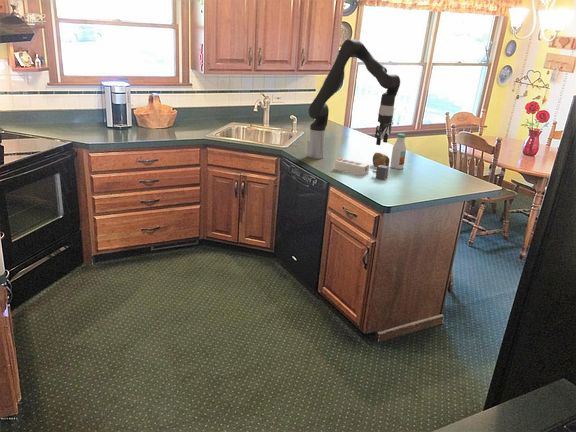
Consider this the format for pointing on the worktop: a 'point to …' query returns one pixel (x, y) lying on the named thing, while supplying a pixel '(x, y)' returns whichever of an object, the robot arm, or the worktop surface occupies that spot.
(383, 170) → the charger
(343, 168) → the power strip
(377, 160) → the tin
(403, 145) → the milk bottle
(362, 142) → the worktop surface
